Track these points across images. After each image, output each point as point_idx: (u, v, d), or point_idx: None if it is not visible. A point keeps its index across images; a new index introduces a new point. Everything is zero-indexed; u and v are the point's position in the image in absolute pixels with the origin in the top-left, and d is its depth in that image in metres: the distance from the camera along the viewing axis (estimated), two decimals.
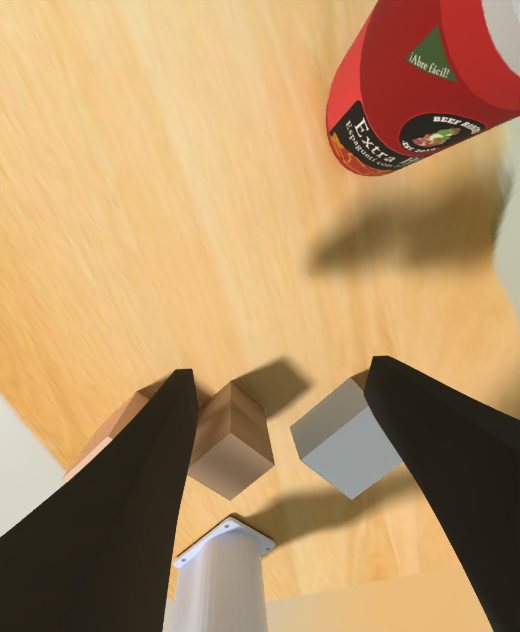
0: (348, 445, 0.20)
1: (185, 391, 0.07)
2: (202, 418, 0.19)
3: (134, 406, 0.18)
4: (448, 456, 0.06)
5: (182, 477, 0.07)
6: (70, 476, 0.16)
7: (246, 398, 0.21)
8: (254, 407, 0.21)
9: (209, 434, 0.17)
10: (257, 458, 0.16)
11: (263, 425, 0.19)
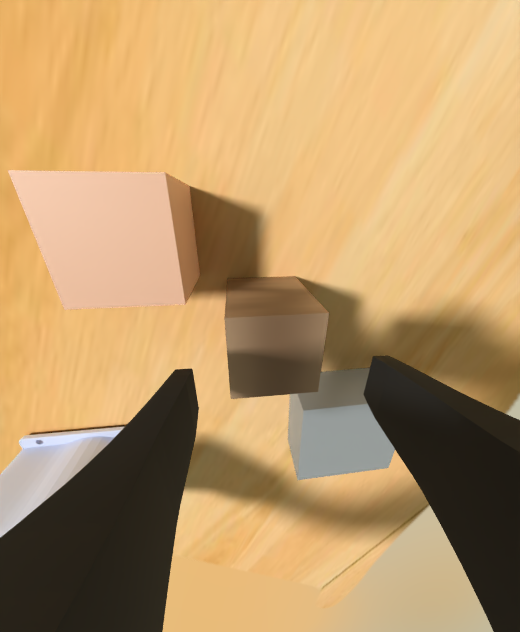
0: (353, 425, 0.17)
1: (185, 391, 0.07)
2: (246, 286, 0.13)
3: (185, 195, 0.11)
4: (448, 456, 0.06)
5: (182, 477, 0.07)
6: (32, 180, 0.08)
7: None
8: None
9: (274, 302, 0.11)
10: (313, 369, 0.11)
11: None
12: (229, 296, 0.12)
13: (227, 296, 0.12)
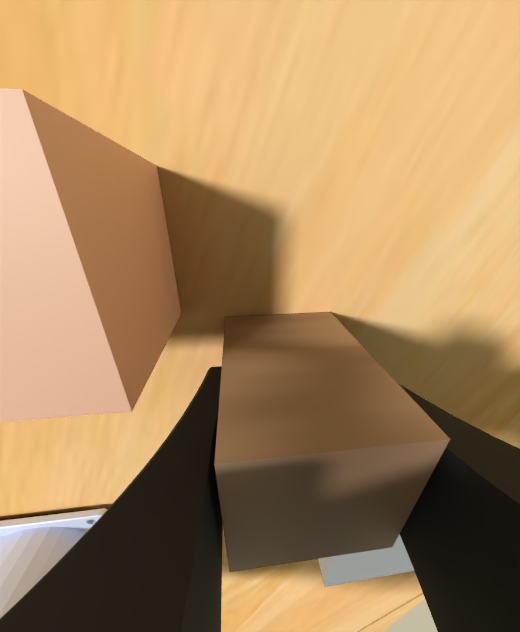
0: None
1: None
2: (257, 338, 0.08)
3: (142, 179, 0.06)
4: None
5: None
6: None
7: None
8: None
9: (315, 391, 0.05)
10: (391, 522, 0.06)
11: None
12: (226, 371, 0.06)
13: (223, 369, 0.06)
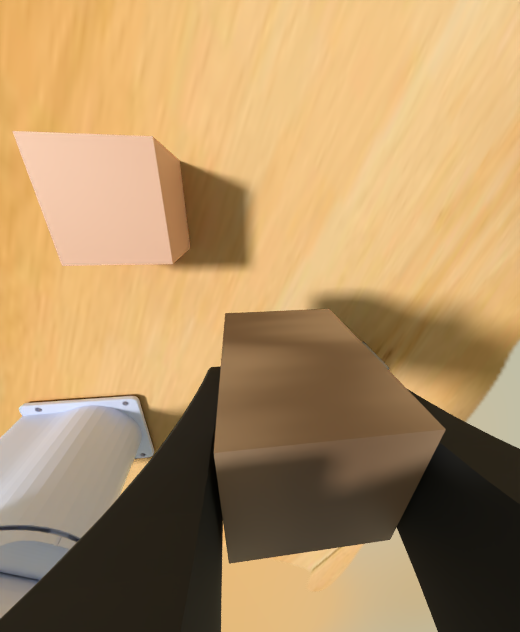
0: None
1: None
2: (256, 334, 0.08)
3: (174, 166, 0.12)
4: None
5: None
6: (33, 140, 0.09)
7: None
8: None
9: (314, 384, 0.06)
10: (388, 513, 0.06)
11: None
12: (225, 364, 0.06)
13: (223, 363, 0.06)
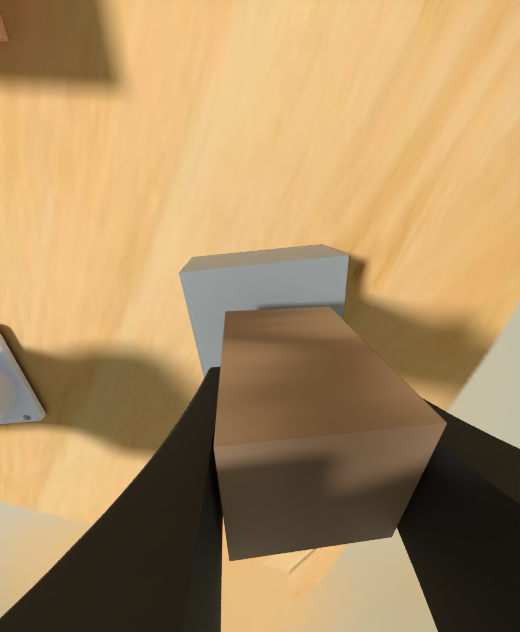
0: (266, 304, 0.11)
1: None
2: (256, 331, 0.08)
3: None
4: None
5: None
6: None
7: None
8: None
9: (314, 380, 0.06)
10: (390, 510, 0.06)
11: None
12: (225, 361, 0.06)
13: (223, 360, 0.06)
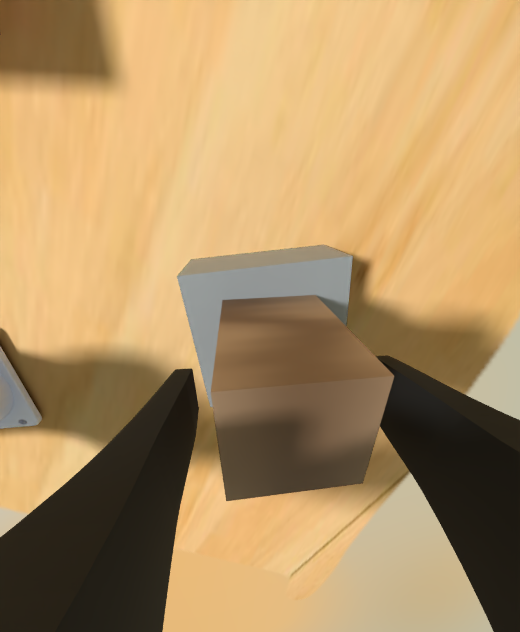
0: None
1: (185, 391, 0.07)
2: (249, 315, 0.09)
3: None
4: (448, 456, 0.06)
5: (182, 477, 0.07)
6: None
7: None
8: None
9: (294, 349, 0.07)
10: (358, 456, 0.07)
11: None
12: (221, 336, 0.07)
13: (219, 336, 0.08)
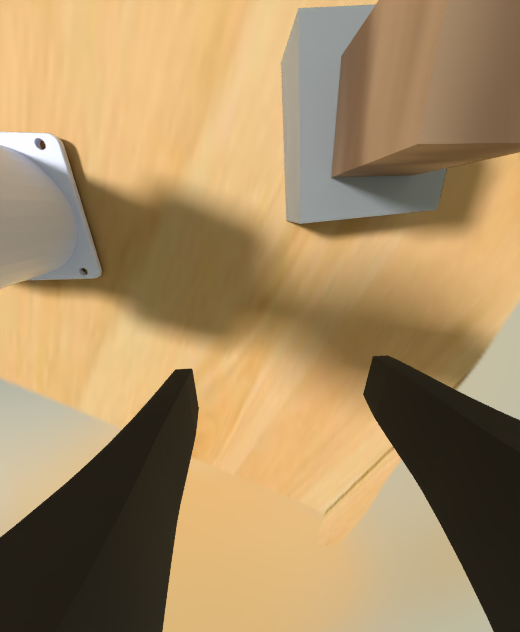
0: None
1: (185, 391, 0.07)
2: None
3: None
4: (448, 456, 0.06)
5: (182, 477, 0.07)
6: None
7: None
8: None
9: None
10: None
11: None
12: None
13: None
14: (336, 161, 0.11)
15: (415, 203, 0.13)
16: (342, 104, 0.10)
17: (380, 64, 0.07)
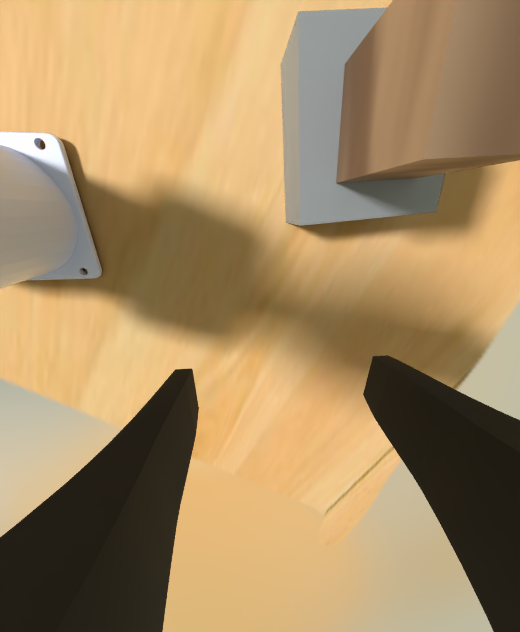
0: None
1: (185, 391, 0.07)
2: None
3: None
4: (448, 456, 0.06)
5: (182, 477, 0.07)
6: None
7: None
8: None
9: None
10: None
11: None
12: None
13: None
14: (341, 167, 0.11)
15: (414, 205, 0.13)
16: (346, 112, 0.10)
17: (384, 77, 0.08)
